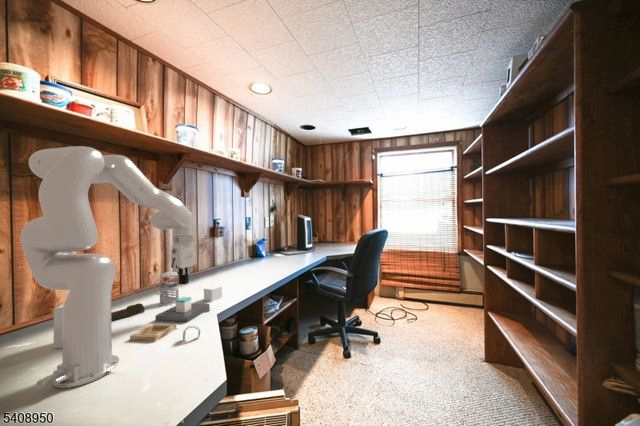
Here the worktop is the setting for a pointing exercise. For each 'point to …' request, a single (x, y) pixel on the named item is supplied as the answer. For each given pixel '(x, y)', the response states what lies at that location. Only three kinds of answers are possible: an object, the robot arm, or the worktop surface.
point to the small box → (58, 327)
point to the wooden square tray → (153, 332)
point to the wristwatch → (190, 327)
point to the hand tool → (128, 311)
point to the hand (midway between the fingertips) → (183, 283)
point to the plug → (183, 304)
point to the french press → (172, 286)
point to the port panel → (182, 313)
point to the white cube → (212, 293)
